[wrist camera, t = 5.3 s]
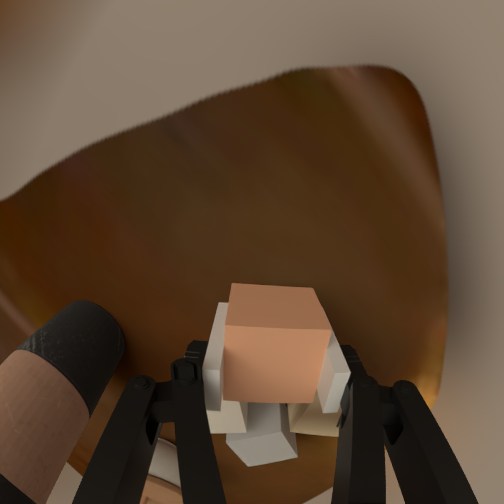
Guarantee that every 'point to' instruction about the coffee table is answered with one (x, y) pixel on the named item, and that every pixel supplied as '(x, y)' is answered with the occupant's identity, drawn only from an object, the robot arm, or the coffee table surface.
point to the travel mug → (52, 397)
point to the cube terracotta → (273, 344)
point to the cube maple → (313, 419)
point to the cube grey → (264, 435)
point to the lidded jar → (163, 476)
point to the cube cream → (229, 417)
